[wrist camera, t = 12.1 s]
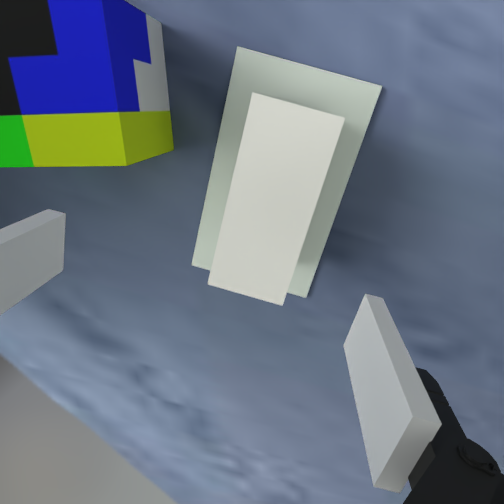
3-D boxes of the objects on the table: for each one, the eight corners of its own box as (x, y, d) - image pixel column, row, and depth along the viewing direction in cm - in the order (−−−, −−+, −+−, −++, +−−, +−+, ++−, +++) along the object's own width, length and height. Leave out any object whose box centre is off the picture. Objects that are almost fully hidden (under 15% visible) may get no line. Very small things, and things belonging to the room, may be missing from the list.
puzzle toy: (161, 23, 30) (99, -15, 21) (174, 149, 34) (126, 165, 24) (47, 30, 31) (-59, -3, 22) (72, 151, 35) (-11, 167, 25)
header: (192, 263, 37) (171, 293, 31) (238, 46, 30) (222, 31, 24) (305, 296, 37) (307, 332, 31) (381, 86, 30) (402, 80, 23)
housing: (285, 268, 35) (282, 305, 28) (224, 251, 35) (207, 284, 28) (334, 115, 29) (345, 117, 23) (262, 95, 29) (252, 92, 23)
